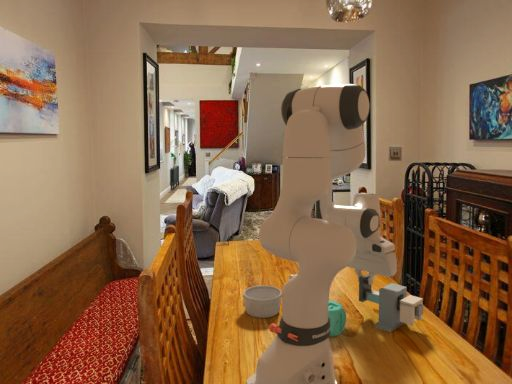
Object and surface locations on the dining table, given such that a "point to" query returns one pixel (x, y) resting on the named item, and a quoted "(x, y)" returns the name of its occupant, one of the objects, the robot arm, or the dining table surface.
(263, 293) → the ramekin
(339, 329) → the decorative dice
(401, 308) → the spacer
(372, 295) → the shaft
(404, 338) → the dining table surface
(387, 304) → the bearing block
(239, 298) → the dining table surface
